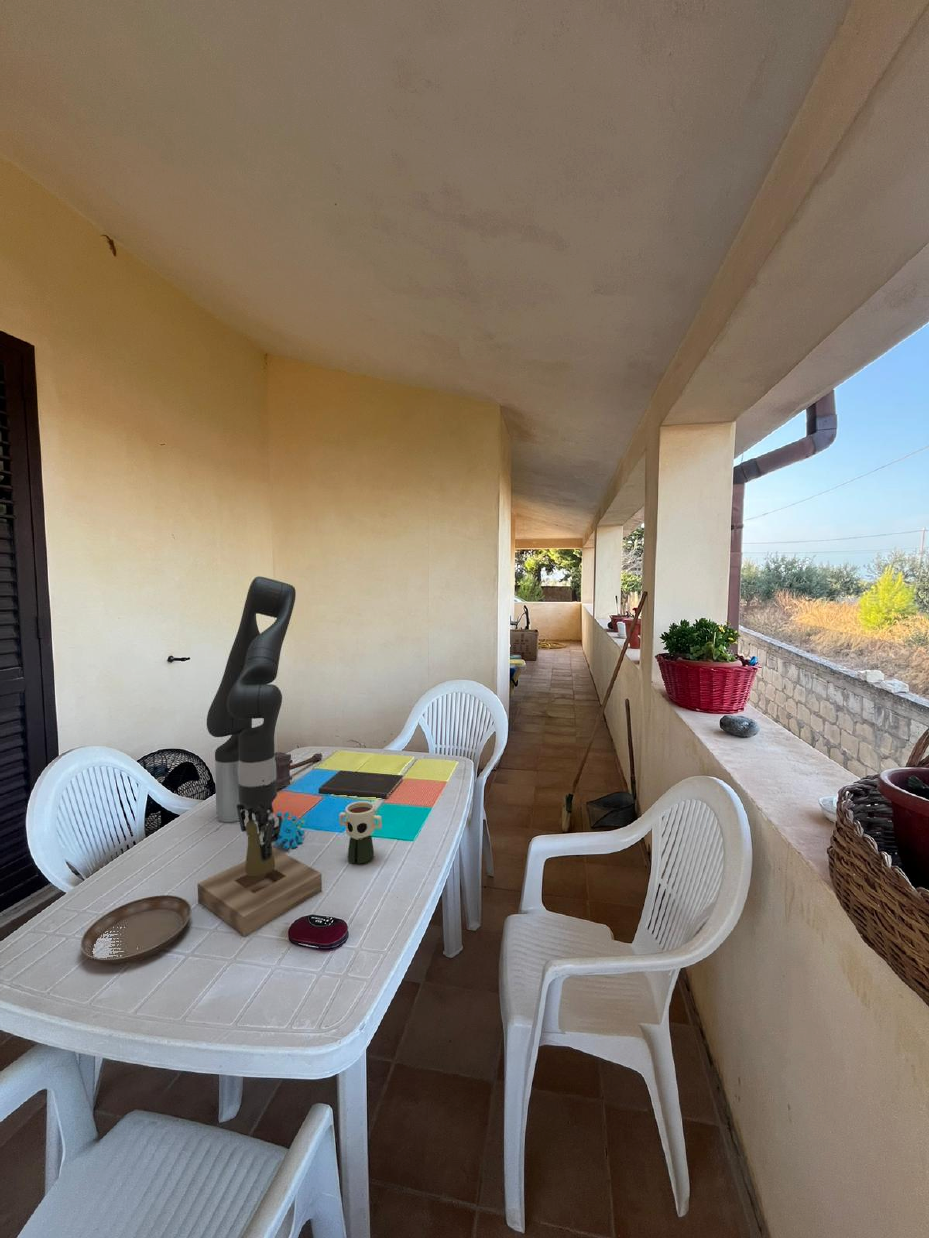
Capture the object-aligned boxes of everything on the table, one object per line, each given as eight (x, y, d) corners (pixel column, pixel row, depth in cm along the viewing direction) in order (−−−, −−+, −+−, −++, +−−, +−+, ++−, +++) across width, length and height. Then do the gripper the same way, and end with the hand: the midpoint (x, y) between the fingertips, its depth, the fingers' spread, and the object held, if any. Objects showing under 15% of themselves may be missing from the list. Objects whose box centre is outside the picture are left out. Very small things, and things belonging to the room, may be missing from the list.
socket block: (198, 901, 108) (197, 883, 108) (274, 863, 122) (273, 847, 122) (244, 936, 97) (243, 916, 97) (321, 890, 112) (321, 873, 111)
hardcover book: (340, 776, 179) (340, 770, 178) (403, 781, 174) (402, 775, 174) (318, 795, 163) (318, 788, 163) (386, 801, 158) (386, 794, 158)
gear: (281, 851, 125) (264, 815, 129) (268, 864, 127) (252, 828, 131) (315, 837, 134) (298, 805, 138) (302, 850, 136) (286, 817, 140)
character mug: (333, 864, 122) (332, 811, 121) (346, 848, 129) (345, 799, 128) (376, 868, 120) (376, 815, 119) (387, 853, 127) (386, 802, 126)
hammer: (258, 787, 164) (261, 756, 165) (311, 771, 196) (313, 744, 197) (276, 789, 162) (279, 757, 164) (327, 773, 194) (329, 746, 195)
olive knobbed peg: (250, 860, 112) (248, 812, 111) (278, 859, 113) (277, 811, 112) (240, 876, 106) (239, 825, 105) (270, 875, 107) (269, 824, 106)
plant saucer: (143, 980, 87) (142, 963, 87) (55, 966, 90) (54, 950, 90) (211, 914, 104) (211, 899, 104) (136, 904, 107) (135, 890, 107)
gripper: (222, 775, 109) (225, 852, 110) (260, 792, 101) (262, 875, 102) (255, 765, 115) (257, 838, 116) (293, 780, 107) (295, 858, 108)
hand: (260, 855), depth 109 cm, fingers closed on olive knobbed peg, 4 cm apart
